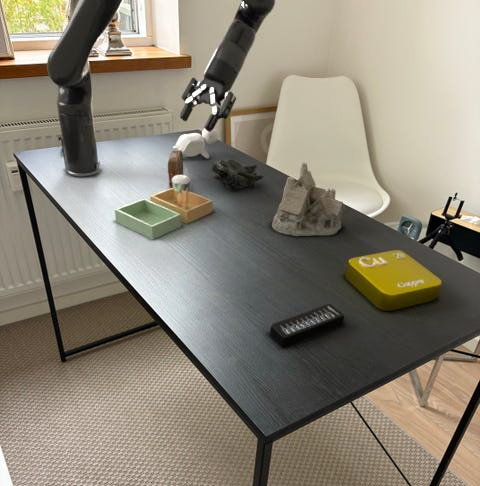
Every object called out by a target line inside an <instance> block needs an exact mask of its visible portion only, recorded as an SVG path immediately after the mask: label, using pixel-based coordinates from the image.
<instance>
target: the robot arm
mask: <svg viewBox="0 0 480 486" xmlns="http://www.w3.org/2000/svg"><path fill="white" fill-rule="evenodd" d="M123 2H124V0H76V1H75V3H74V5H73V9H72V11H71V14H70V17H69V19H68V21H67V24H66V27H65V29H64V31H63V32H62V34H61V36H60V38H59V39H58V41H57V42H56V44H55V45H54V48H53V49H52V51H51V52H50V54H49V55H48V58H47V63H46V69H47V73H48V76H49V78H50V79H51V81H52V82H53V83H54V84H55V85H56V86H57V88H58V89H57V90H58V91H57V99H56V107H57V109H56V110H57V115H58V120H59V121H58V122H59V127H60V133H61V135H60V136H59V137H58V138H57V141H60V143H61V153H62V154H63V155H62V156H63V161H64V168H65V170H66V173H67V174H68V175H69V176H71V177H72V176H73V177H78V178H79V177H80V178H84V177H91V176H95V175H96V174H99V173H100V166H101V163H100V161H99V156H98V147H97V141H96V131H95V122H94V114H93V113H94V112H93V86H92V85H93V84H92V74H91V67H90V62H89V57H90V55H91V54H92V53H91V52H92V51H93V48H94V46H95V45H96V43H97V41H98V40H99V39H100V37H101V36H102V35H103V34H104V32H105V31H106V29H108V27H109V25H110V24H111V23H112V21H113V20H114V18H115V17H116V15H117V13H118V11H119V9H120V7H121V6H122V5H123V4H122V3H123ZM275 6H276V0H241V1H240V4H239V5H238V8H237V11H236V12H235V15H234V18H233V20H232V22H231V23H230V25H229V26H228V28H227V30H226V32H225V34H224V36H223V38H222V40H221V41H220V43H219V44H218V46H217V47H216V49H215V51H214V53H213V55H212V57H211V59H210V60H209V63H208V64H207V66H206V68H205V71H204V72H203V73H204V74H203V79H202V80H201V81H200V80H197V79H196V78H195V77H191V79H190V81H189V83H188V84H187V86H186V88H185V90H183V91H184V92H183V93H182V95H181V100H183V101H184V103H185V104H184V106H183V107H182V110H181V111H180V114H179V115H180V116H179V117H180V119H181V120H182V121H184V122H187V121H188V119H189V118H190V116H191V114H192V112H193V110H194V108H195V107H196V106H198V105H201V104H205V105H209V106H211V111H212V114H211V113H210V115H209V117H208V119H207V121H206V123H205V125H204V127H203V128H204V129H206V130H207V131H209V132H211V130H213V129H215V127H216V125H217V123H218V121H219V120H221V119H223V120H226V119H228V118H229V115H230V113H231V111H232V109H233V107H234V105H235V102H236V100H237V97H236V95H235V94H234V93H233V92H232V91H231V90H232V87H233V85H234V83H235V81H236V80H237V78H238V76H239V74H240V72H241V70H242V69H243V66H244V64H245V61H246V60H247V59H246V58H247V57H248V55H249V52H250V50H251V49H252V47H253V45H254V43H255V41H256V35H257V34H258V31H259V29H260V28H261V26H262V24H263V22H264V21H265V19H266V18H267V17H268V16H269V14H270V13H271V12H272V11H273V9H274V8H275ZM222 101H223V102H222Z"/></svg>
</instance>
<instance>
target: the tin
mask: <svg viewBox="0 0 480 486" xmlns="http://www.w3.org/2000/svg"><path fill="white" fill-rule="evenodd" d="M167 174H168V185H169V189H170V188H173V184H172V178H173V177H174V176H176V175H184V157H183V156H182V151H181V150H174V149H173V150H172V151H171V153H170V155H169V158H168V161H167Z"/></svg>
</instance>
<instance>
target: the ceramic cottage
mask: <svg viewBox="0 0 480 486" xmlns="http://www.w3.org/2000/svg"><path fill="white" fill-rule="evenodd" d="M336 193H337V191H336V189H335V188H332V189H331V188H327V190H326V188H322V187H318V186H316V182H315V179H314V177H313V175H312V172H311V171H310V170H309V168H308V164H307V162H302V163H301V167H300V168H299V178H298V179H297V180H296V181H295V177H294V176H289V177H287V179H286V183H285V186H284V188H283V195H282V199H281V201H280V203H279V205H278V208H277V211H276V213H275V216H273V220H272V223H271V227H272V229H273V230H274V231H275V232H277V233H280V234H283V235H288V236H294V237H300V236H301V237H304V236H305V237H310V236H311V237H312V236H331V235H335V234H337V233H338V231H340V230H341V228H342V221H341V218H342V217H343V212H345V210H346V207H345V205H344V202H343V201H341V200H338V199H336Z"/></svg>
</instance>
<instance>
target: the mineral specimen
mask: <svg viewBox="0 0 480 486" xmlns="http://www.w3.org/2000/svg"><path fill="white" fill-rule="evenodd" d="M257 168H258V165H257V164H256V163H255V164H253V165H242V163H239V162H238V161H236V160H235V159H233V158H232V159H227V160H224V159H223V160H218V161H217V162H216V163H215V162H213V163H212V164H211V168H210V171H211V174H215V175H214V176H213V179H214V180H217V181H218V182H221V183H223V184H224V187H225V188H226V189H229V190H231V191H232V190H233V191H234V190H240V189H242V188H250V187H252V186H253V184H255V183H256V182H259V181H260V180H262V179H264V175H261V174H259V175H258V173H257V172H255V171H256V169H257Z"/></svg>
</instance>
